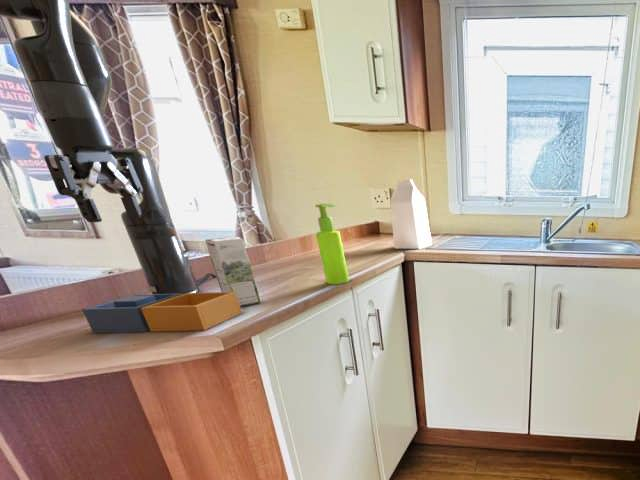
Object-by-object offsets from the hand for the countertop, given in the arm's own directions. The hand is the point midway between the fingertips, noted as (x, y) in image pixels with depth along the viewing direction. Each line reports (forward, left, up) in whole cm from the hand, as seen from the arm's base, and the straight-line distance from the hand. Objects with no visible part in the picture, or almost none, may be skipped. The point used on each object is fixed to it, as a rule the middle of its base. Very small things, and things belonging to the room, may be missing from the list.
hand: (116, 219), depth 78 cm
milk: (-107, +27, -20) cm, 112 cm away
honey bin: (+2, +10, -19) cm, 22 cm away
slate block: (+2, -1, -19) cm, 19 cm away
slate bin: (+2, -1, -20) cm, 20 cm away
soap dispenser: (-35, +24, -20) cm, 47 cm away
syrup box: (-12, +11, -20) cm, 25 cm away
